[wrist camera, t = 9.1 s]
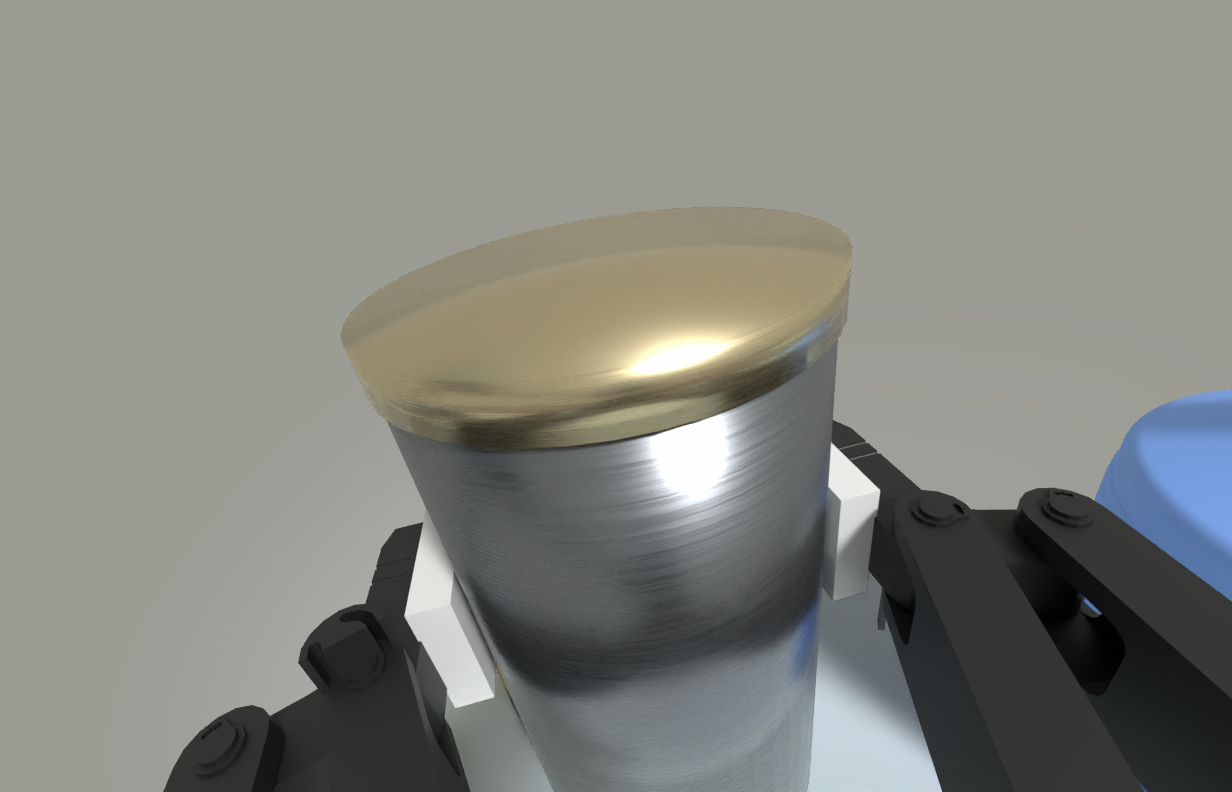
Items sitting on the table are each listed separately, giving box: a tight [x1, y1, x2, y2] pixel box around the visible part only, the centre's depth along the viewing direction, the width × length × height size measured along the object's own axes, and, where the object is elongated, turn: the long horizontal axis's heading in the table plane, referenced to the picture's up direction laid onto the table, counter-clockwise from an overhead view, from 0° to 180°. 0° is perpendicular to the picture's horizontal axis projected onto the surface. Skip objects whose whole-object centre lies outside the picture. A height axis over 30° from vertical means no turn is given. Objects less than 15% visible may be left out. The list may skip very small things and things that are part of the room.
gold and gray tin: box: [341, 207, 852, 792], centre depth 11 cm, size 7×7×13 cm
